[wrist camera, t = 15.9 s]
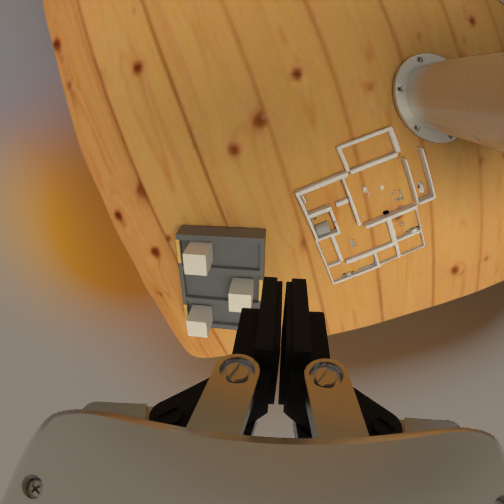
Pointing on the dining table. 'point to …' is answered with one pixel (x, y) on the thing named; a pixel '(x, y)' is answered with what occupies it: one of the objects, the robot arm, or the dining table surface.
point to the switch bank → (222, 269)
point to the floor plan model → (323, 227)
